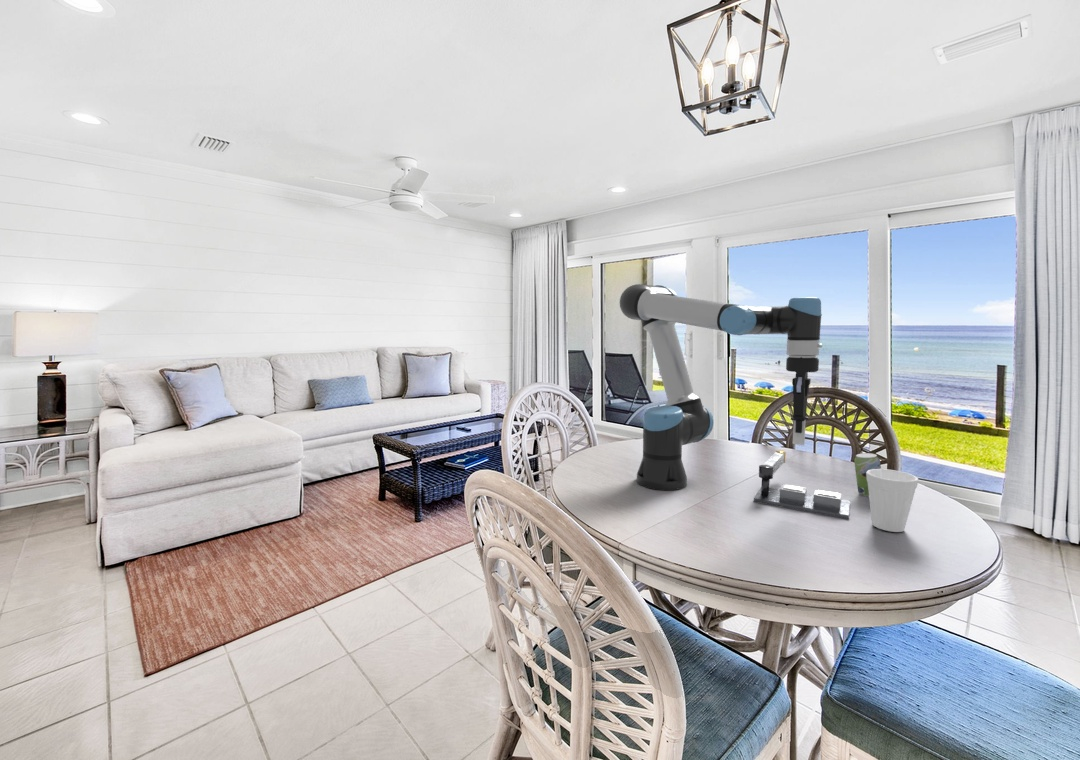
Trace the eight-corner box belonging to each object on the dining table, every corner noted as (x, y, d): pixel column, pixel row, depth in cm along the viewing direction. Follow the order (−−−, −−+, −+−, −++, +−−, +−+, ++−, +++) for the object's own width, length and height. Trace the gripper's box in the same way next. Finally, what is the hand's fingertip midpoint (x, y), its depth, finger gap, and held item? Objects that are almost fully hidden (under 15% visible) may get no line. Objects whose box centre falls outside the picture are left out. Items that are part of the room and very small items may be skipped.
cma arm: (771, 480, 131) (771, 469, 130) (757, 477, 133) (757, 466, 133) (787, 461, 149) (787, 451, 148) (774, 459, 151) (775, 449, 150)
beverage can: (887, 500, 131) (890, 457, 130) (858, 498, 133) (860, 456, 132) (876, 492, 138) (879, 452, 136) (848, 490, 139) (851, 450, 138)
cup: (917, 540, 106) (922, 484, 105) (863, 531, 112) (867, 477, 110) (911, 525, 115) (915, 472, 113) (861, 516, 120) (865, 466, 119)
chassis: (753, 501, 131) (754, 481, 130) (761, 489, 141) (762, 470, 140) (848, 519, 119) (850, 497, 118) (849, 504, 128) (851, 483, 128)
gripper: (816, 358, 118) (812, 451, 120) (820, 355, 129) (816, 440, 131) (783, 357, 122) (779, 447, 125) (789, 355, 133) (786, 437, 135)
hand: (798, 443), depth 128 cm, fingers closed
